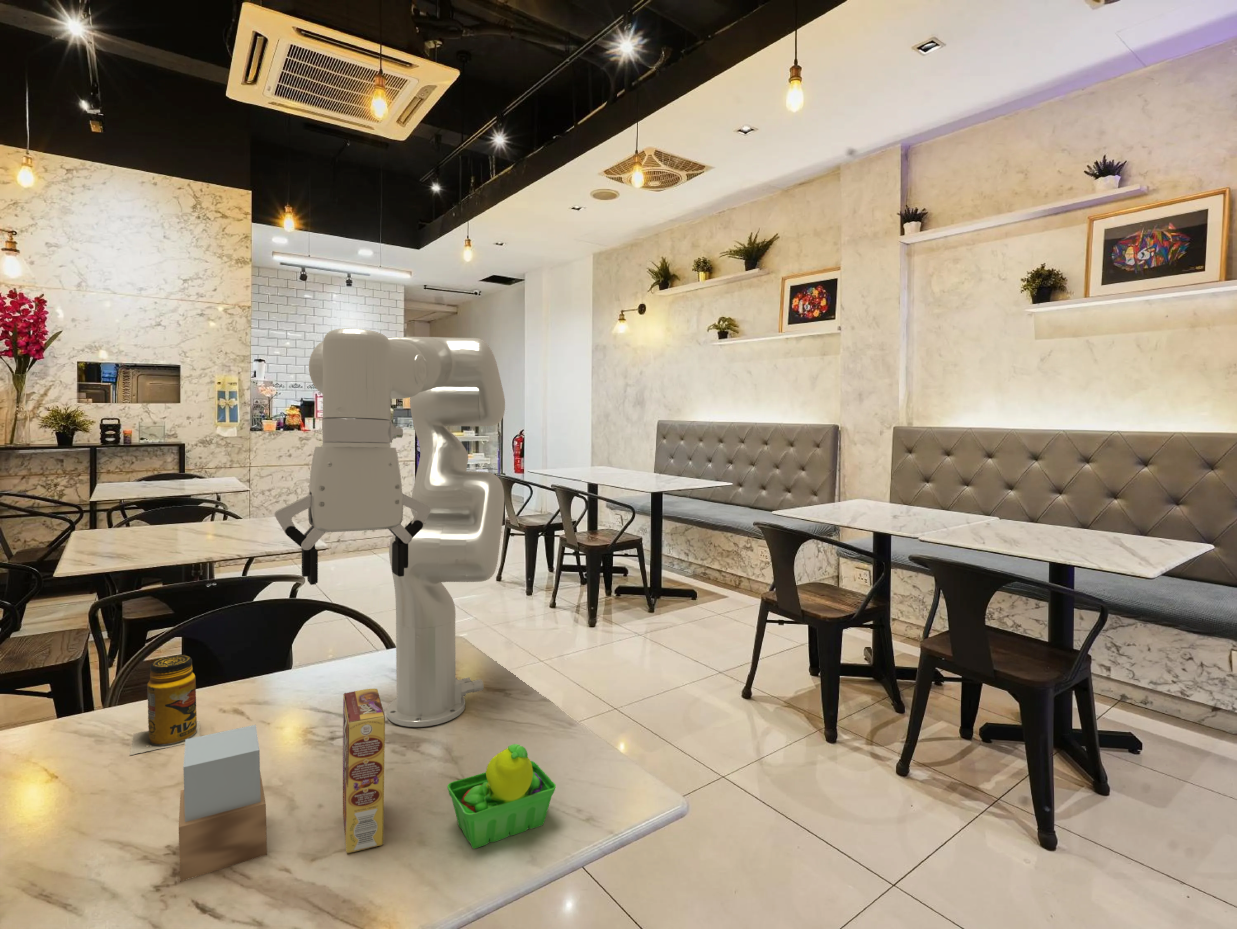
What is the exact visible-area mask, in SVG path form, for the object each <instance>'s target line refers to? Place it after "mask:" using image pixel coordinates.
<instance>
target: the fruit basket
mask: <svg viewBox="0 0 1237 929" xmlns="http://www.w3.org/2000/svg"><path fill="white" fill-rule="evenodd" d="M528 756H529V755H528V751H527V749H526V748H525V747H524V746H522V745H521V744H517V743H512V744H510V745H509V746H508V747H507V748H504V749H503V750H502V751H500V752H498V753H496V755H495V756H493V757H492V758H491V759H490V760H489V762H488V764H487V767H486V771H485V772H482V773H478V774H475V775H473V776H468V777H465V778H461V779H457V780H454V781H451V782H449V783H448V784H447V786H446V787H447V790H448V795H449V796H450V798H451V802H452V804H453V809H454V812H455V815H456V816H455V817H456V820H457V824H458V827H459V828H460V829H461V830H462V833H463V835H464V837H465V838H466V840H467V841H468V842H469V843H470V846H471V848H472V849H473V850H474V849H478V848H480V847H484V846H486V845H488V844H489V843H495V842H497V841H500V840H503V839H506V838H508V837H509V836H515V835H518V834H521V833H524V832H526V831H527V830H528V829H529V830H531V829H535V828H538V827H541V826H543V825H544V824H545V821H546V817H547V814H548V810H549V806H550V803H551V799H552V796H553V795H554V793H555V791H556V787H557V786H556V783H555V782H554V781H552V779H551V778H550V777H549V775H547V774H546V772H544V770H543V769H542V767H540V766H539V765H538V764H537V763H536V762H534V761H533V760H531V759H530V758H529V757H528Z"/></svg>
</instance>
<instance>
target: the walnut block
mask: <svg viewBox="0 0 1237 929" xmlns="http://www.w3.org/2000/svg"><path fill="white" fill-rule="evenodd" d="M179 792H180V793H179V810H178V811H179V814H178V815H179V816H178V853H179V881H180V883H181V882H184V881H186V879H187V880H189V879H188V878H190V879H193V878H192V877H194V878H196V877H195V876H197V877H200V876H203V875H206V874H209V873H212V872H215V871H219V870H222V869H225V868H228V867H229V868H230V867H231V866H235V865H237V864H240V863H241V864H242V863H244V862H247V861H250V860H253V859H257V858H260V857H264V856H267V855H268V853H267V852H268V850H267V849H268V847H267V845H268V844H267V843H268V841H267V837H268V836H267V806H266V805H267V801H266V798H265V796H266V795H265V790H264V786H263V781H262V775H261V772H260V795H261V802H259V803H255V804H251V805H248V806H244V807H240V808H236V809H233V810H229V811H225V812H221V813H218V814H214V815H210V816H206V817H203V818H199V819H195V820H191V821H188V822H185V804H184V789H181V790H180V791H179ZM183 880H184V881H183Z"/></svg>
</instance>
